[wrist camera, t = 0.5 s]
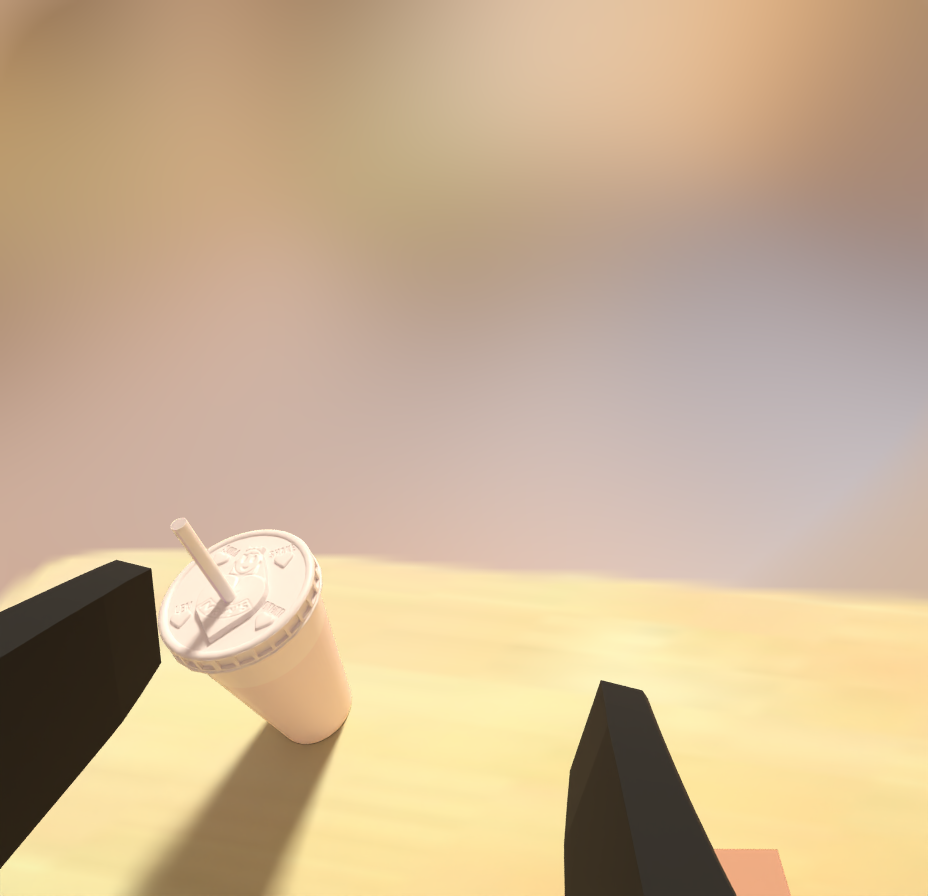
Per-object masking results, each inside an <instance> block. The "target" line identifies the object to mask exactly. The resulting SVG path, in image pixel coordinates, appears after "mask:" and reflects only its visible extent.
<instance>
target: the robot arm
mask: <svg viewBox="0 0 928 896" xmlns="http://www.w3.org/2000/svg"><path fill="white" fill-rule="evenodd" d="M160 664H161V657H160V647H159V638H158V628H157V618H156V609H155V599H154V590H153V580H152V571H151V568H147V567H143V566H139V565H135V564H131V563H127V562H123V561H119V560H115V561H113V562H110V563H108V564H105V565H103V566H101V567H98V568H96V569H94V570H91V571H89V572H87V573H84V574H82V575H80V576H78V577H76V578H73V579H71V580H69V581H67V582H65V583H62V584H60V585H58V586H56V587H54V588H51V589H49V590H47V591H45V592H43V593H41V594H38V595H36V596H34V597H32V598H30V599H28V600H25V601H23V602H21V603H19V604H17V605H15V606H12V607H10V608H8V609H6V610H4V611H1V612H0V869H1V867H2V866H3V865H4V864H5V862H6V861H7V860H8V859H9V858H10V856H11V855H12V854H13V853H14V852H15V850H16V849H17V848H18V847H19V846H20V845H21V843H22V842H23V841H24V840H25V839H26V837H27V836H28V835H29V834H30V833H31V831H32V830H33V829H34V828H35V827H36V825H37V824H38V823H39V822H40V821H41V820H42V818H43V817H44V816H45V815H46V814H47V812H48V811H49V810H50V809H51V808H52V806H53V805H54V804H55V803H56V802H57V800H58V799H59V798H60V797H61V796H62V794H63V793H64V792H65V791H66V790H67V789H68V787H69V786H70V785H71V784H72V783H73V781H74V780H75V779H76V778H77V777H78V775H79V774H80V773H81V772H82V771H83V769H84V768H85V767H86V766H87V765H88V763H89V762H90V761H91V760H92V759H93V757H94V756H95V755H96V754H97V753H98V751H99V750H100V749H101V748H102V746H103V745H104V744H105V743H106V742H107V740H108V739H109V738H110V737H111V736H112V734H113V733H114V732H115V731H116V729H117V728H118V727H119V726H120V724H121V723H122V722H123V720H124V719H125V717H126V716H127V714H128V713H129V712H130V710H131V709H132V707H133V706H134V704H135V703H136V701H137V700H138V698H139V697H140V695H141V694H142V692H143V691H144V689H145V687H146V686H147V684H148V683H149V681H150V680H151V678H152V676H153V675H154V673H155V672H156V670H157V668H158V667H159V665H160ZM564 874H565V896H737V895H736V893H735V891H734V889H733V887H732V885H731V883H730V881H729V879H728V877H727V875H726V873H725V872H724V870H723V868H722V866H721V864H720V862H719V860H718V857H717V855H716V853H715V851H714V849H713V847H712V845H711V843H710V841H709V839H708V837H707V835H706V832H705V830H704V828H703V826H702V824H701V822H700V820H699V818H698V816H697V814H696V812H695V810H694V807H693V805H692V803H691V801H690V799H689V796H688V794H687V792H686V790H685V788H684V785H683V783H682V781H681V778H680V776H679V774H678V772H677V769H676V767H675V765H674V762H673V760H672V758H671V755H670V753H669V751H668V748H667V746H666V743H665V741H664V739H663V736H662V734H661V731H660V729H659V726H658V724H657V721H656V719H655V716H654V714H653V711H652V709H651V706H650V703H649V701H648V698H647V697H646V695H645V694H644V692H643V691H642V690H638V689H634V688H630V687H626V686H622V685H618V684H614V683H610V682H606V681H602V680H601V681H600V684H599V687H598V690H597V693H596V696H595V699H594V702H593V705H592V708H591V711H590V714H589V717H588V720H587V722H586V725H585V728H584V731H583V734H582V737H581V740H580V743H579V746H578V749H577V752H576V755H575V758H574V761H573V764H572V766H571V769H570V777H569V788H568V800H567V812H566V826H565V839H564Z"/></svg>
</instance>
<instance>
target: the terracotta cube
mask: <svg viewBox="0 0 928 896" xmlns="http://www.w3.org/2000/svg"><path fill="white" fill-rule="evenodd" d="M714 851H715V853H716V855H717V857H718V860H719V862H720V864H721V866H722V868H723V870H724V872H725V873H726V875H727V877H728V879H729V881H730V883H731V885H732V887H733V889H734V891H735V893H736V895H737V896H791V895H790V891H789V888H788V884H787V881H786V877H785V874H784V871H783V867H782V864H781V860H780V857H779V853H778V850H777V849H714Z"/></svg>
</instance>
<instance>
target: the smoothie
mask: <svg viewBox="0 0 928 896" xmlns="http://www.w3.org/2000/svg"><path fill="white" fill-rule="evenodd" d="M171 529H172V530H173V532H174V533H175V535H176V536H177V538H178V539H179V540H180V542H181V543H182V545H183V546H184V547H185V549H186V550H187V552H188V553H189V555H190V556H191V557H192V559H193V561H191V562H190V563H189V564H188V565H187V566H186V567H185V568H184V569H183V570H182V571H181V572H180V573H179V575H178V576H177V577H176V579H175V580H174V581H173V583H172V584H171V586H170V587H169V589H168V591H167V592H166V594H165V596H164V599H163V601H162V604H161V607H160V611H159V616H158V628H159V633H160V636H161V638H162V640H163V642H164V644H165V645H166V646H167V647H168V649H169V650H170V651H171V653H172V654H173V656H174V657H175V659H176V660H177V662H179V663H180V664H182V665H183V666H185V667H187V668H188V669H190V670H191V671H196V672H201V673H206V674H208V675H209V676H210V677H211V678H212V679H214V680H215V681H216V682H218V683H219V684H221V685H222V686H223V687H224V688H226V689H227V690H228V691H229V692H231V693H232V694H233V695H234V696H236V697H237V698H238V699H239V700H241V701H242V702H243V703H245V704H246V705H247V706H248V707H250V708H251V709H252V710H253V711H255V712H256V713H257V714H258V715H260V716H261V717H262V718H263V719H265V720H266V721H267V722H268V723H270V724H271V725H272V726H273V727H275V728H276V729H277V730H279V731H280V732H281V733H282V734H284V735H285V736H286V737H287V738H289V739H290V740H292V741H293V742H296V743H300V744H312V743H316V742H319V741H322V740H324V739H326V738H327V737H329V736H330V735H332V734H333V733H334V732H335V731H337V730H338V729H339V727H340V726H341V725H342V724H343V722H344V721H345V719H346V718H347V716H348V713H349V711H350V708H351V703H352V694H351V689H350V686H349V683H348V679H347V676H346V673H345V670H344V667H343V664H342V660H341V657H340V654H339V651H338V648H337V644H336V641H335V638H334V635H333V632H332V628H331V625H330V622H329V619H328V616H327V613H326V609H325V606H324V602H323V599H322V596H321V590H322V585H323V584H322V572H321V568H320V566H319V564H318V562H317V560H316V558H315V556H314V555H312V553H311V551H310V550H309V548H308V546H307V545H306V544H305V543H304V542H303V541H302V540H301V539H300V538H298V537H297V536H295V535H293V534H290V533H287V532H284V531H280V530H256V531H250V532H246V533H242V534H238V535H236V536H233V537H230V538H228V539H225V540H223V541H221V542H219V543H218V544H215V545H214V546H212V547H210V548H209V549H207V550H206V548H205V547H204V545H203V544H202V542H201V541H200V539H199V538H198V536H197V535H196V534H195V532H194V530H193V529H192V527H191V526H190V524H189V523H188V521H187V520H186V519H185V518H179V519H177V520H175V521H174V522H173V523H172V524H171Z"/></svg>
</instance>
